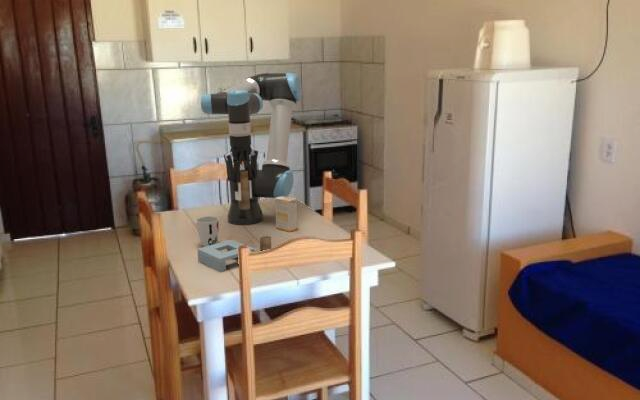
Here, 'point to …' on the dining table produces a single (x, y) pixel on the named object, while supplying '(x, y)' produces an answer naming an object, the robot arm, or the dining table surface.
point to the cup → (208, 230)
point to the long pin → (244, 190)
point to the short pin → (265, 243)
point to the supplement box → (286, 213)
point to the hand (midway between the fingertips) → (243, 198)
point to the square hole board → (219, 254)
